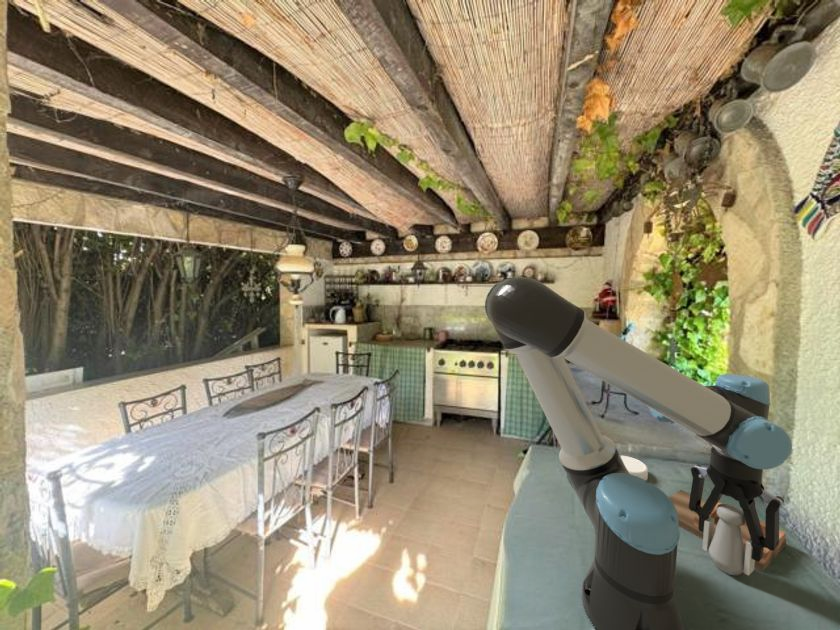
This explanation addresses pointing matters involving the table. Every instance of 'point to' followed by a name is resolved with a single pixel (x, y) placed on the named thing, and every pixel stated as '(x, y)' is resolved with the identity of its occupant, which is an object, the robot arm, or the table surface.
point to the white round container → (635, 467)
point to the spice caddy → (691, 522)
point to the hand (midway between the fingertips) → (727, 558)
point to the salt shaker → (728, 540)
